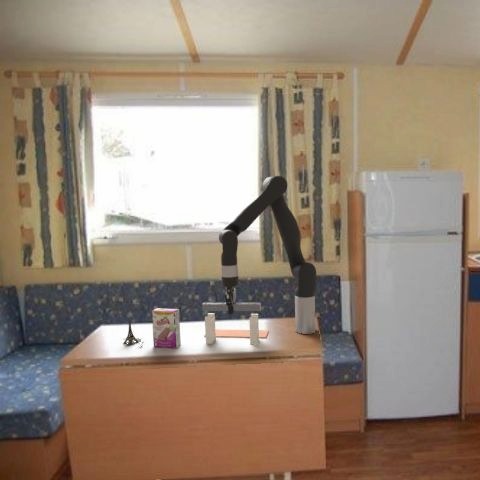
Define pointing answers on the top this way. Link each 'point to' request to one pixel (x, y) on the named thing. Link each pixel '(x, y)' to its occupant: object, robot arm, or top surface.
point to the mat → (238, 333)
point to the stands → (211, 331)
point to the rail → (235, 307)
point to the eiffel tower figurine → (131, 337)
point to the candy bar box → (166, 328)
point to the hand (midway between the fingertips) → (231, 312)
